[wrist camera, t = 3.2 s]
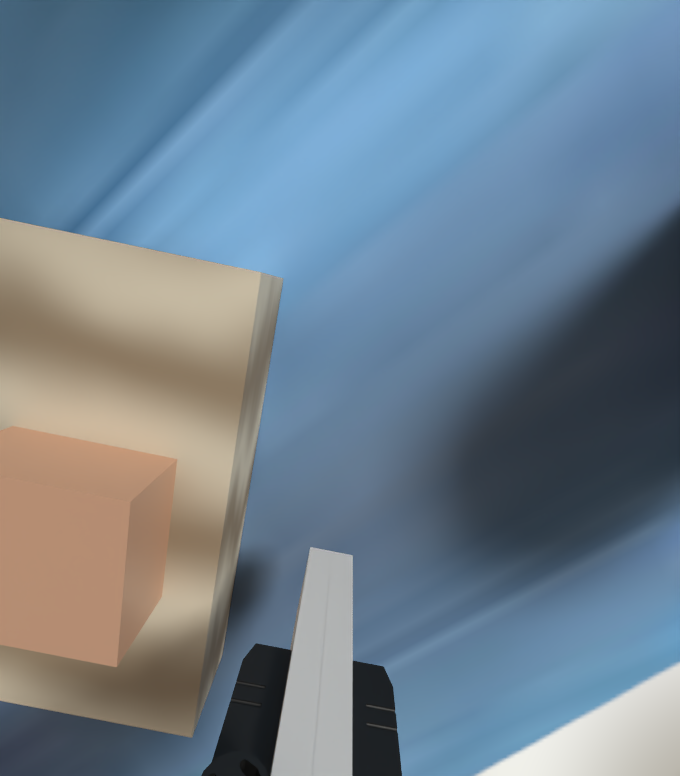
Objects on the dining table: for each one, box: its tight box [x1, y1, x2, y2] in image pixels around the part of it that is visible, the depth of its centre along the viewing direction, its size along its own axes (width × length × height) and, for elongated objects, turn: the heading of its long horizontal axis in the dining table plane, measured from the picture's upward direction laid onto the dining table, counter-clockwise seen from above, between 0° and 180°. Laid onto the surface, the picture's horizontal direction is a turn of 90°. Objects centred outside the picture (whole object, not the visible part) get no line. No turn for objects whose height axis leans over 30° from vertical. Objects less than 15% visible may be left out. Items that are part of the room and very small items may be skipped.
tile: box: [0, 426, 177, 667], centre depth 13 cm, size 6×6×3 cm
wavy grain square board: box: [0, 218, 283, 738], centre depth 16 cm, size 20×18×4 cm
